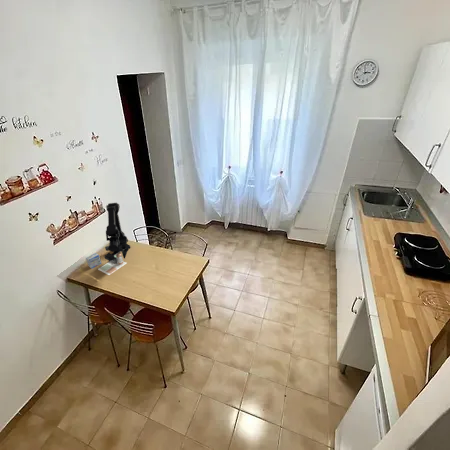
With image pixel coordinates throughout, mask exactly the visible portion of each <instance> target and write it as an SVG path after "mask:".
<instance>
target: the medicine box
mask: <svg viewBox="0 0 450 450" xmlns="http://www.w3.org/2000/svg"><path fill="white" fill-rule="evenodd" d="M85 260H86V263H87V266H88V267H89V268H90V269H92V270H93V269H95V268H96V267H98V266H99V265H102V261H101V258H100V255H99V254H98V253H96V252H94V253H93V254H91V255H90V256H87V257H85Z"/></svg>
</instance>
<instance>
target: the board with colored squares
mask: <svg viewBox="0 0 450 450" xmlns="http://www.w3.org/2000/svg"><path fill="white" fill-rule="evenodd" d="M114 256H116V255H114ZM116 260H117V259H116ZM126 264H127V262H126V261H124V260H123V264H121V265H119V264H118V261H117V264H115V262H114V261H113V260H111V261H108V262H107V263H105V264H104V265H101V266H100V267H98V268H97V270H98V271H100V272H102V273H104V274H105V275H108V276H110V275H112V274H113V273H114V272H117V271H118V270H119V269H120V268H122V267H123V266H125V265H126Z"/></svg>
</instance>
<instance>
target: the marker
mask: <svg viewBox="0 0 450 450" xmlns="http://www.w3.org/2000/svg"><path fill="white" fill-rule="evenodd" d="M116 257H117V261H118V264H119V265H121V264H123V261H124V258H123V254H122V252H119V253H118V254H116Z"/></svg>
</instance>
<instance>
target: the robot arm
mask: <svg viewBox="0 0 450 450" xmlns="http://www.w3.org/2000/svg"><path fill="white" fill-rule="evenodd" d="M105 207H106V211H107V219H108V220H107V221H108V223H107V226H106V228H105V229H106V230H105V237H106V241H107V242H109V244H108V245H106V246H105V247H104V248H105V251H106V252H109V251H110V252H112V253H110V252H109V253H107V254H105V255H104V256H103V257H104V260H107V261H108V262H110V261H111V260H113V261H114V262H115V264H117V260H116V258H115V257H114V256H115V255H116V254H118V253H121V255H122V259H123V260H125V259H126V256H127V254H128V251H129V250H130V249H131V245H130V244H128V241H129V239H128V237H127V236H126V234H125V232H124V231H123V230H122V227H121V222H120V217H119V212H120V204H119V203H118V202H110V203H107V205H106V206H105Z"/></svg>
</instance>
